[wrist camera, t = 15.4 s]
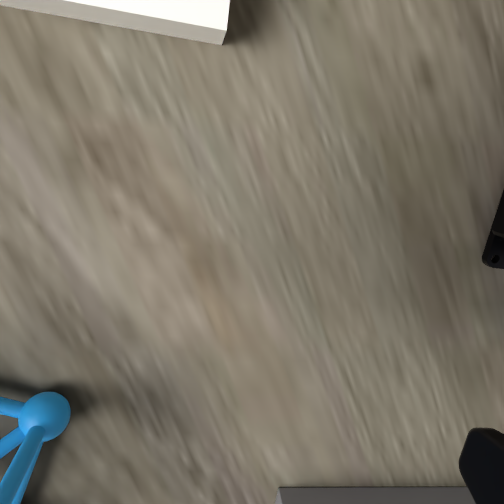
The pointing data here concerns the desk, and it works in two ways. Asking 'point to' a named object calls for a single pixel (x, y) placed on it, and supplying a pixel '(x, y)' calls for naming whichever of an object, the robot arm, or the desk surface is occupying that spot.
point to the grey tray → (375, 495)
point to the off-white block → (143, 15)
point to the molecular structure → (29, 438)
